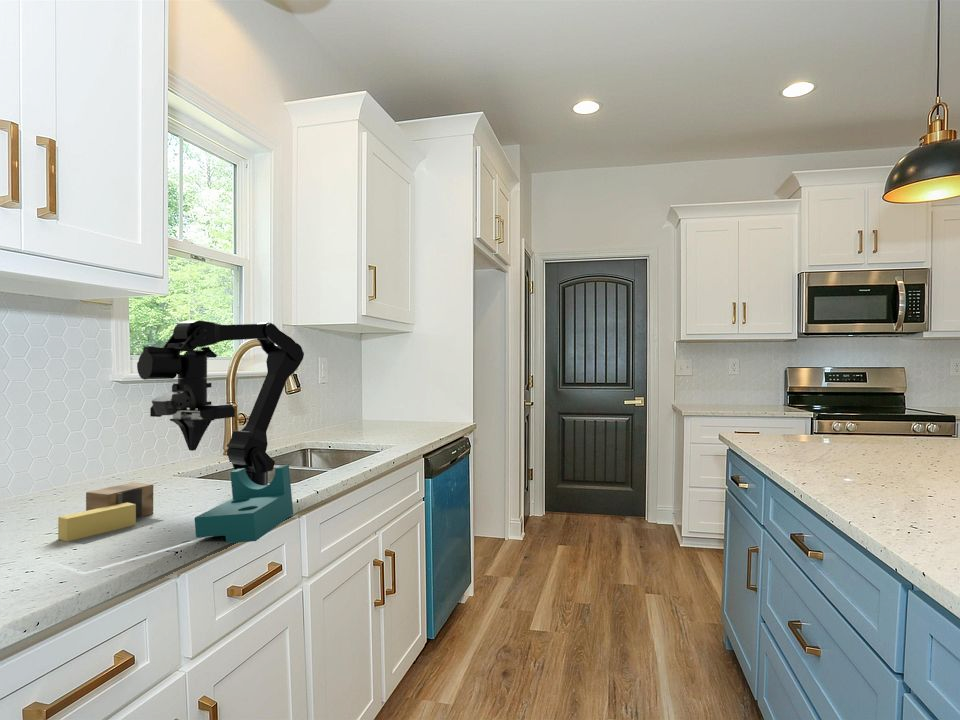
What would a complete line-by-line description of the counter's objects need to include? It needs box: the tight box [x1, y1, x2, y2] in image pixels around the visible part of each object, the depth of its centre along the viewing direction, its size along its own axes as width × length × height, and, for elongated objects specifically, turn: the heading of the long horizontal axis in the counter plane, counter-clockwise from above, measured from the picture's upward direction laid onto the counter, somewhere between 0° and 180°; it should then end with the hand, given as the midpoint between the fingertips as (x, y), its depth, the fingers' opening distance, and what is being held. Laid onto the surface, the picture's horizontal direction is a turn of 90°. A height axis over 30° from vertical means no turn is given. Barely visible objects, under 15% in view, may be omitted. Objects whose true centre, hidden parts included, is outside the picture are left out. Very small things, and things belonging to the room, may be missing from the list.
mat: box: [60, 516, 164, 545], centre depth 109 cm, size 16×6×1 cm, turn 159°
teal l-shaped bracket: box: [193, 464, 294, 544], centre depth 111 cm, size 18×11×10 cm, turn 177°
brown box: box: [85, 481, 154, 518], centre depth 116 cm, size 10×7×6 cm, turn 159°
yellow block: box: [57, 502, 136, 542], centre depth 107 cm, size 4×3×12 cm
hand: (192, 450), depth 124 cm, fingers closed
